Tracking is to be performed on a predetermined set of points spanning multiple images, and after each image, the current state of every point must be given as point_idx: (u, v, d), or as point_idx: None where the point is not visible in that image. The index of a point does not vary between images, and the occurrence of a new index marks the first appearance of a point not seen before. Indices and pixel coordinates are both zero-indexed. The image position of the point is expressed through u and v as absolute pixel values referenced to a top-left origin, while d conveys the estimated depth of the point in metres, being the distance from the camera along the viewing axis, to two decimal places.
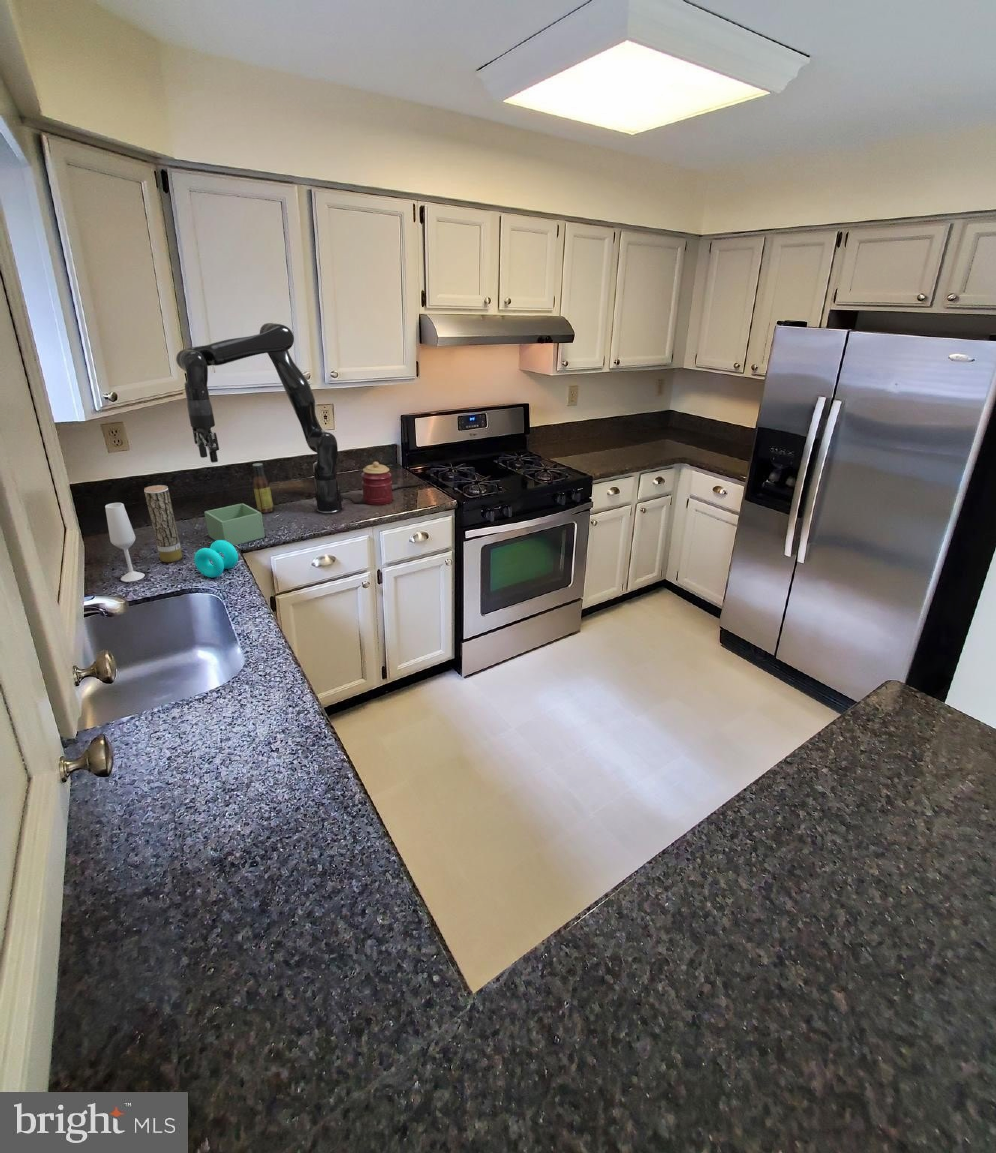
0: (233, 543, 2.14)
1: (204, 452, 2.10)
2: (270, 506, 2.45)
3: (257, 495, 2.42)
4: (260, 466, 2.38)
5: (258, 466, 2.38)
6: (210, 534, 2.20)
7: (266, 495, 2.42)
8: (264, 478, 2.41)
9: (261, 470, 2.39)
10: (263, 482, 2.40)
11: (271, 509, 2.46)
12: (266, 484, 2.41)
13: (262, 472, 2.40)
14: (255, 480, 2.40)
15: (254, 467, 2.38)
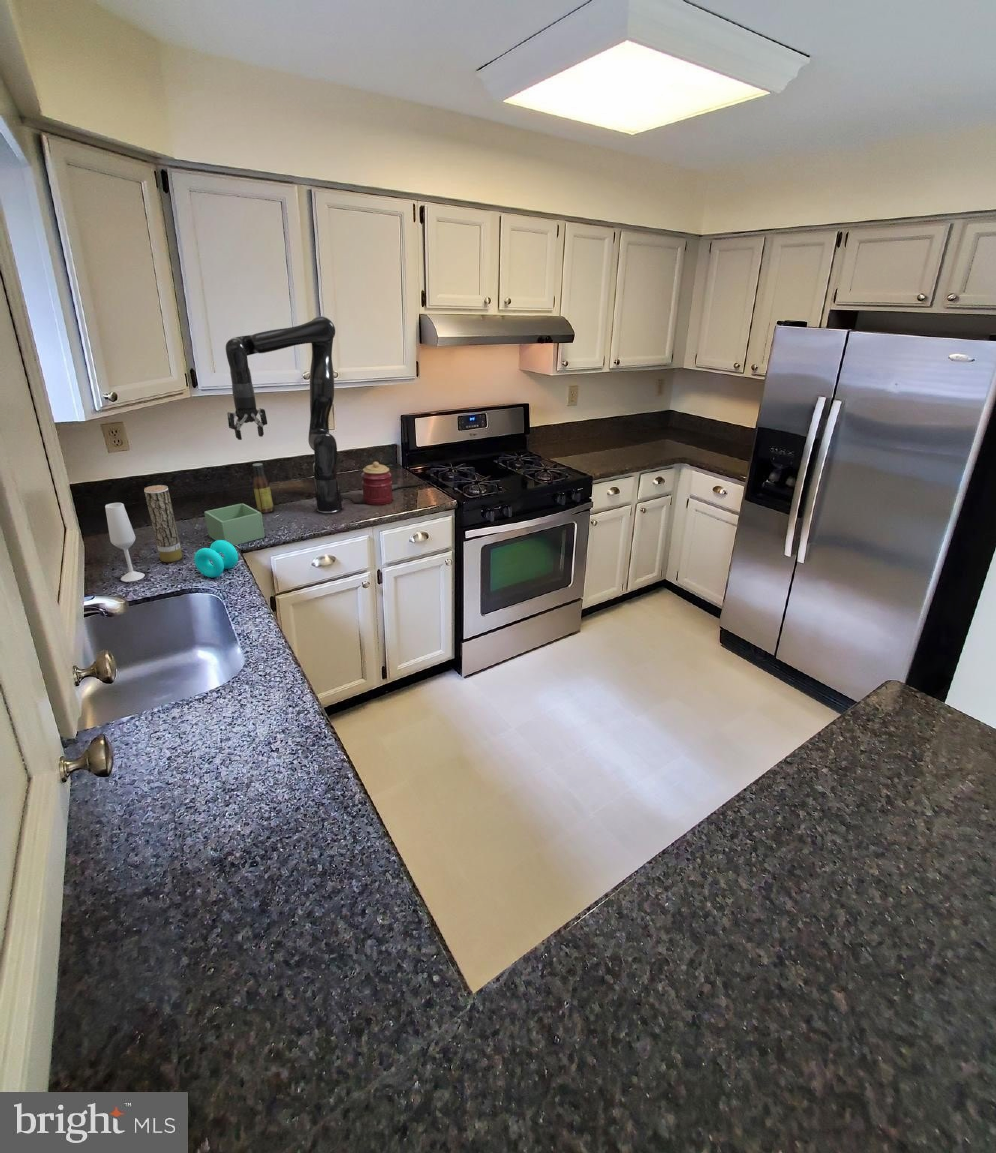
0: (233, 543, 2.14)
1: (259, 432, 2.33)
2: (270, 506, 2.45)
3: (257, 495, 2.42)
4: (260, 466, 2.38)
5: (258, 466, 2.38)
6: (210, 534, 2.20)
7: (266, 495, 2.42)
8: (264, 478, 2.41)
9: (261, 470, 2.39)
10: (263, 482, 2.40)
11: (271, 509, 2.46)
12: (266, 484, 2.41)
13: (262, 472, 2.40)
14: (255, 480, 2.40)
15: (254, 467, 2.38)
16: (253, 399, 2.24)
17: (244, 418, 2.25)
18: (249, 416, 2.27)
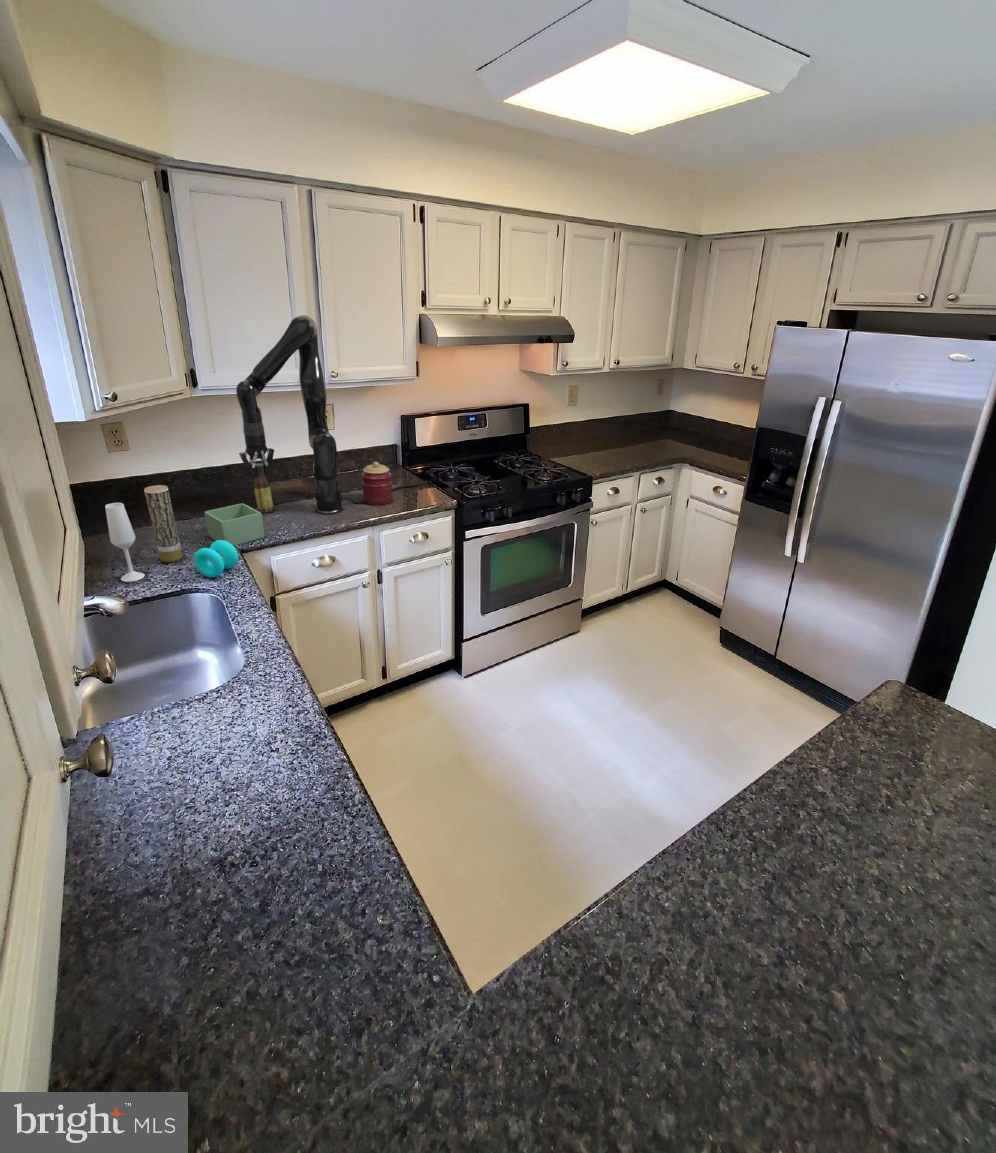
0: (233, 543, 2.14)
1: (264, 470, 2.41)
2: (270, 506, 2.45)
3: (257, 494, 2.42)
4: (261, 466, 2.38)
5: (259, 466, 2.38)
6: (210, 534, 2.20)
7: (266, 494, 2.42)
8: (264, 478, 2.41)
9: (261, 470, 2.39)
10: (264, 482, 2.40)
11: (271, 509, 2.46)
12: (266, 484, 2.41)
13: (263, 472, 2.40)
14: (255, 480, 2.40)
15: (255, 467, 2.38)
16: (263, 437, 2.34)
17: (254, 455, 2.35)
18: (259, 453, 2.37)
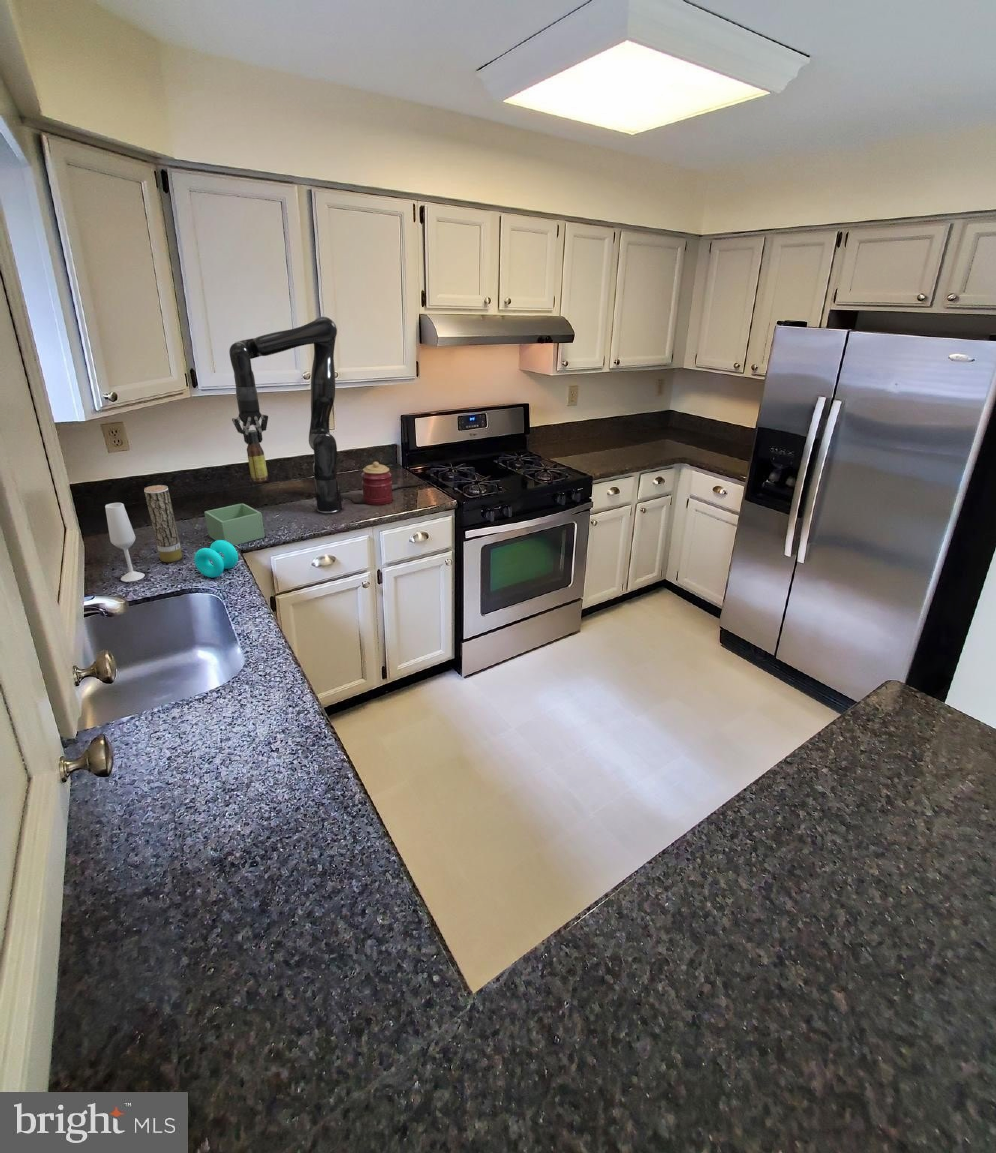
0: (233, 543, 2.14)
1: (258, 438, 2.34)
2: (264, 475, 2.38)
3: (250, 463, 2.34)
4: (254, 433, 2.31)
5: (252, 432, 2.30)
6: (210, 534, 2.20)
7: (260, 463, 2.35)
8: (258, 445, 2.33)
9: (255, 437, 2.32)
10: (258, 450, 2.33)
11: (265, 478, 2.39)
12: (260, 452, 2.34)
13: (256, 439, 2.33)
14: (249, 447, 2.32)
15: (248, 433, 2.30)
16: (256, 402, 2.26)
17: (247, 421, 2.27)
18: (252, 419, 2.29)
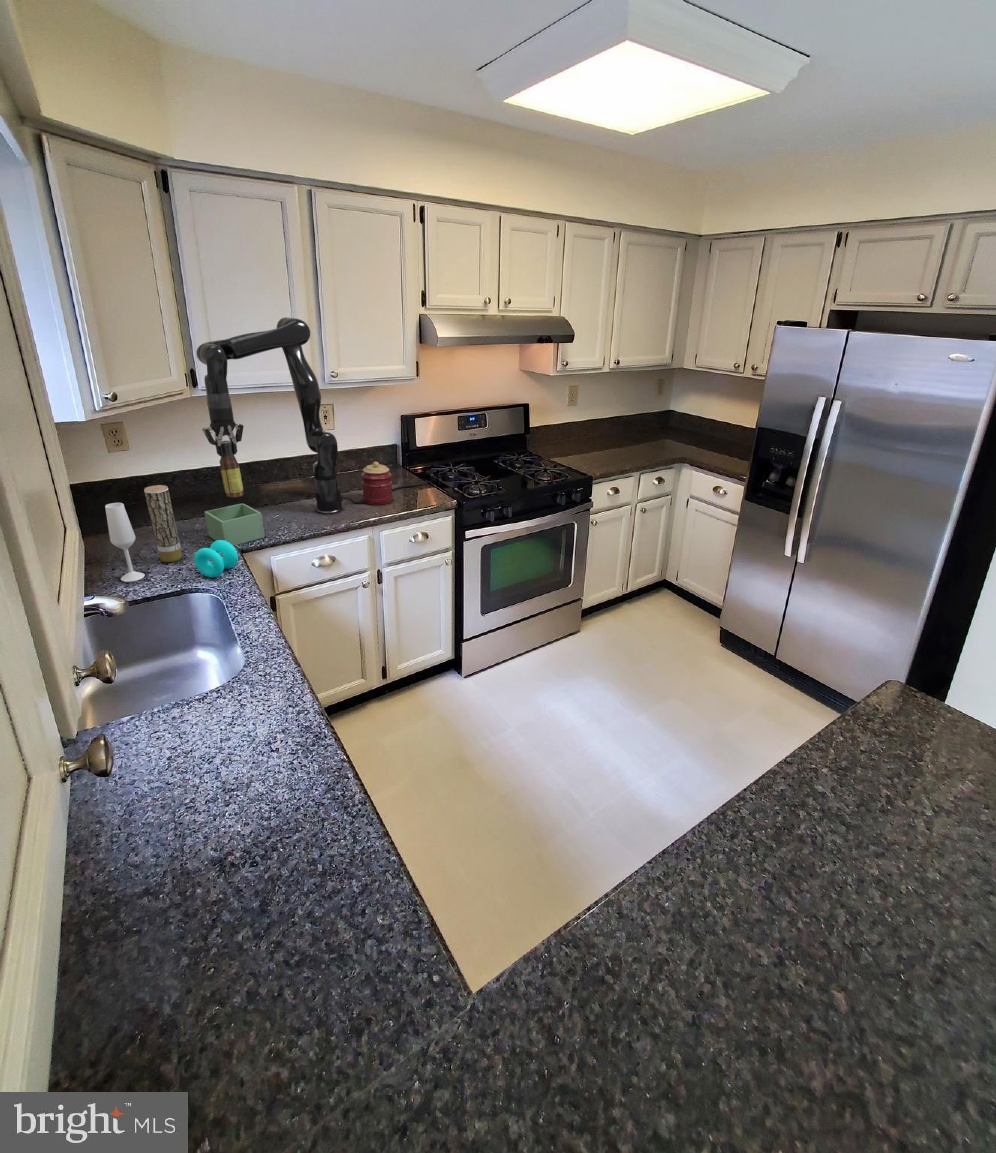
0: (233, 543, 2.14)
1: (232, 449, 2.13)
2: (239, 490, 2.17)
3: (224, 476, 2.13)
4: (228, 444, 2.10)
5: (225, 444, 2.09)
6: (210, 534, 2.20)
7: (235, 477, 2.14)
8: (232, 458, 2.12)
9: (229, 449, 2.10)
10: (232, 463, 2.11)
11: (241, 493, 2.18)
12: (235, 464, 2.13)
13: (230, 451, 2.11)
14: (222, 460, 2.11)
15: (221, 445, 2.09)
16: (230, 410, 2.05)
17: (220, 431, 2.06)
18: (226, 429, 2.08)
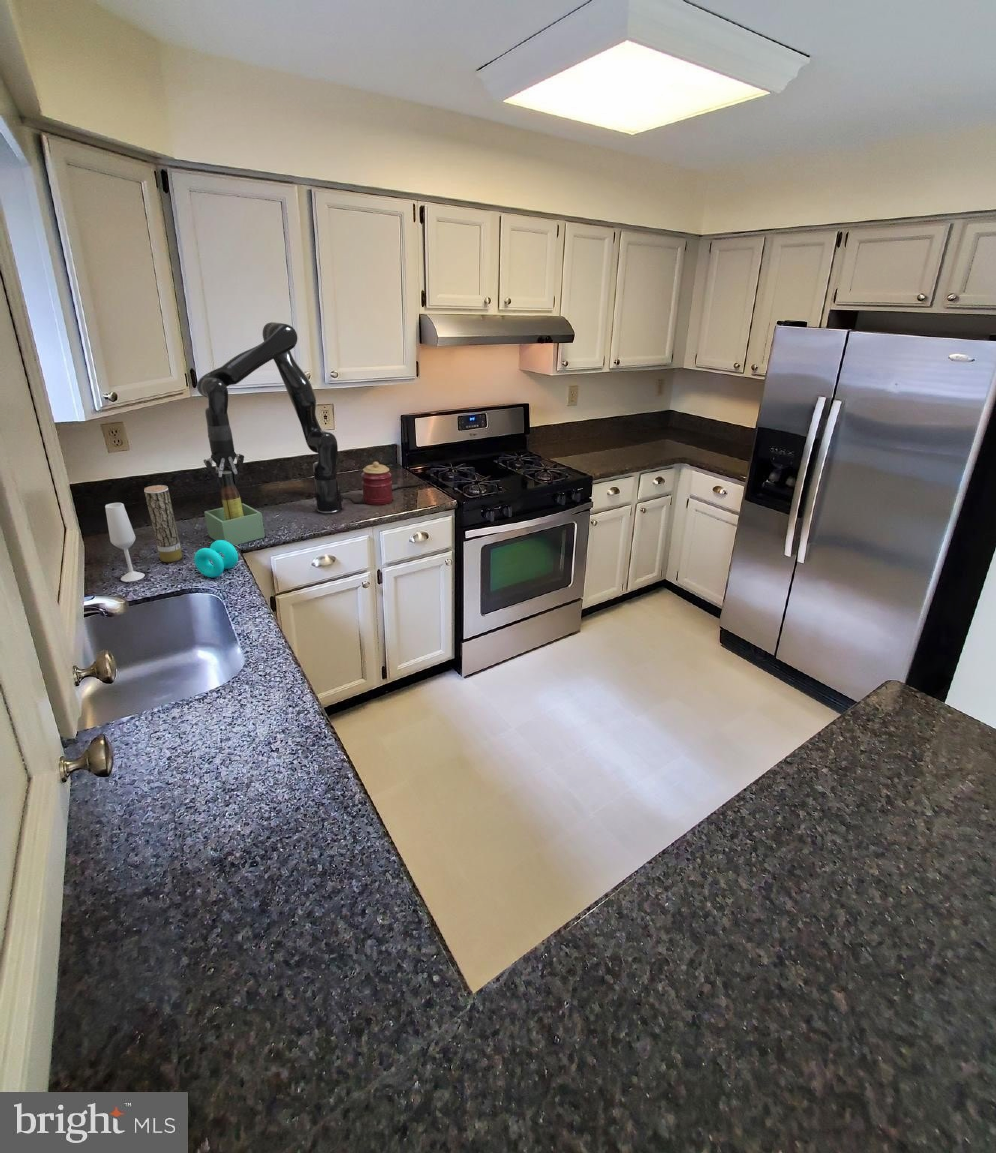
0: (233, 543, 2.14)
1: (233, 479, 2.14)
2: None
3: (225, 506, 2.14)
4: (229, 474, 2.11)
5: (226, 474, 2.10)
6: (210, 534, 2.20)
7: (236, 506, 2.15)
8: (233, 488, 2.13)
9: (230, 479, 2.12)
10: (233, 493, 2.13)
11: None
12: (236, 494, 2.14)
13: (231, 481, 2.13)
14: (223, 490, 2.12)
15: (222, 475, 2.10)
16: (230, 442, 2.06)
17: (221, 462, 2.07)
18: (226, 460, 2.09)
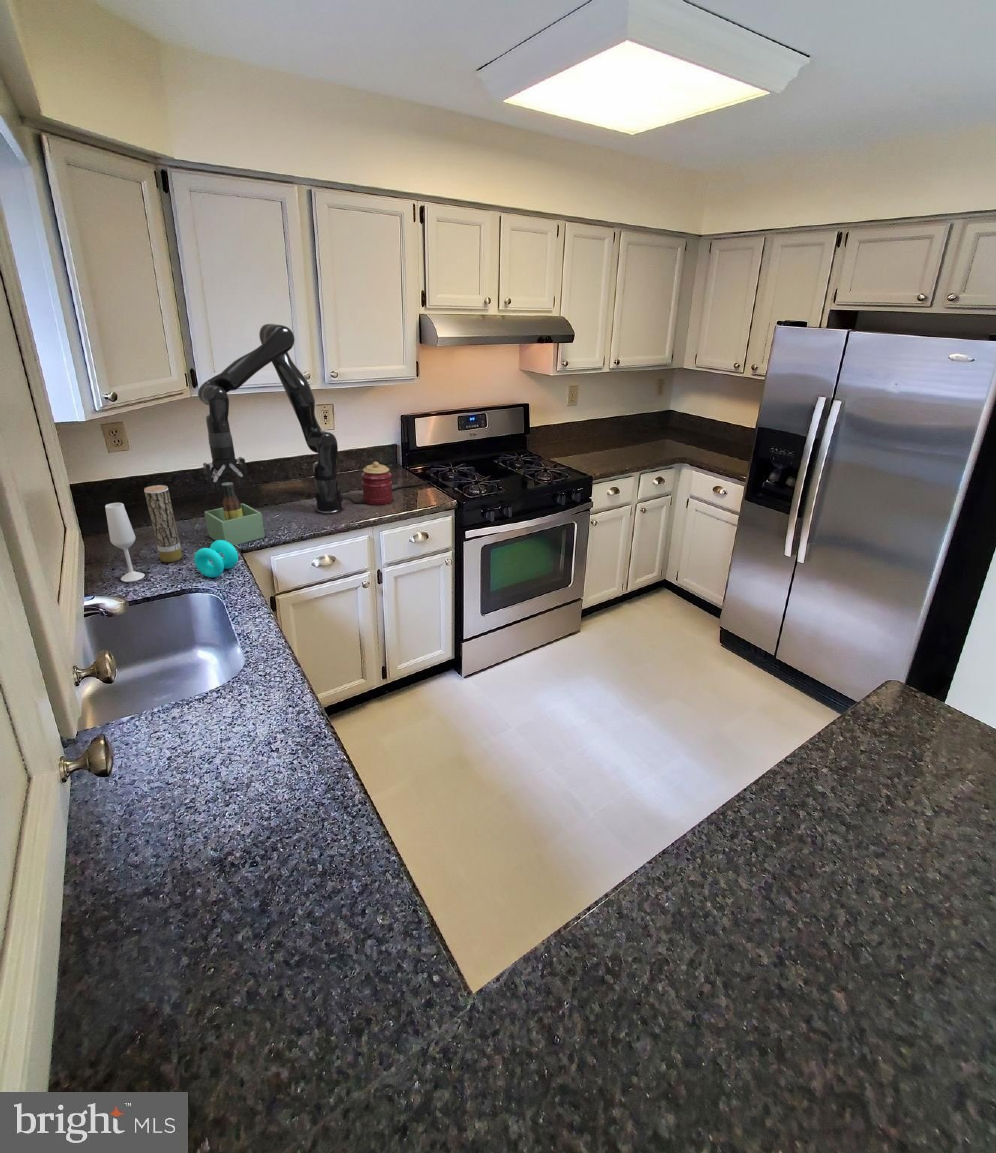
0: (233, 543, 2.14)
1: (239, 482, 2.16)
2: None
3: (227, 517, 2.16)
4: (230, 486, 2.13)
5: (228, 486, 2.12)
6: (210, 534, 2.20)
7: (237, 517, 2.17)
8: (235, 499, 2.15)
9: (231, 490, 2.14)
10: (234, 504, 2.15)
11: None
12: (237, 505, 2.16)
13: (232, 492, 2.14)
14: (224, 501, 2.14)
15: (223, 487, 2.12)
16: (231, 449, 2.07)
17: (221, 469, 2.08)
18: (227, 466, 2.10)
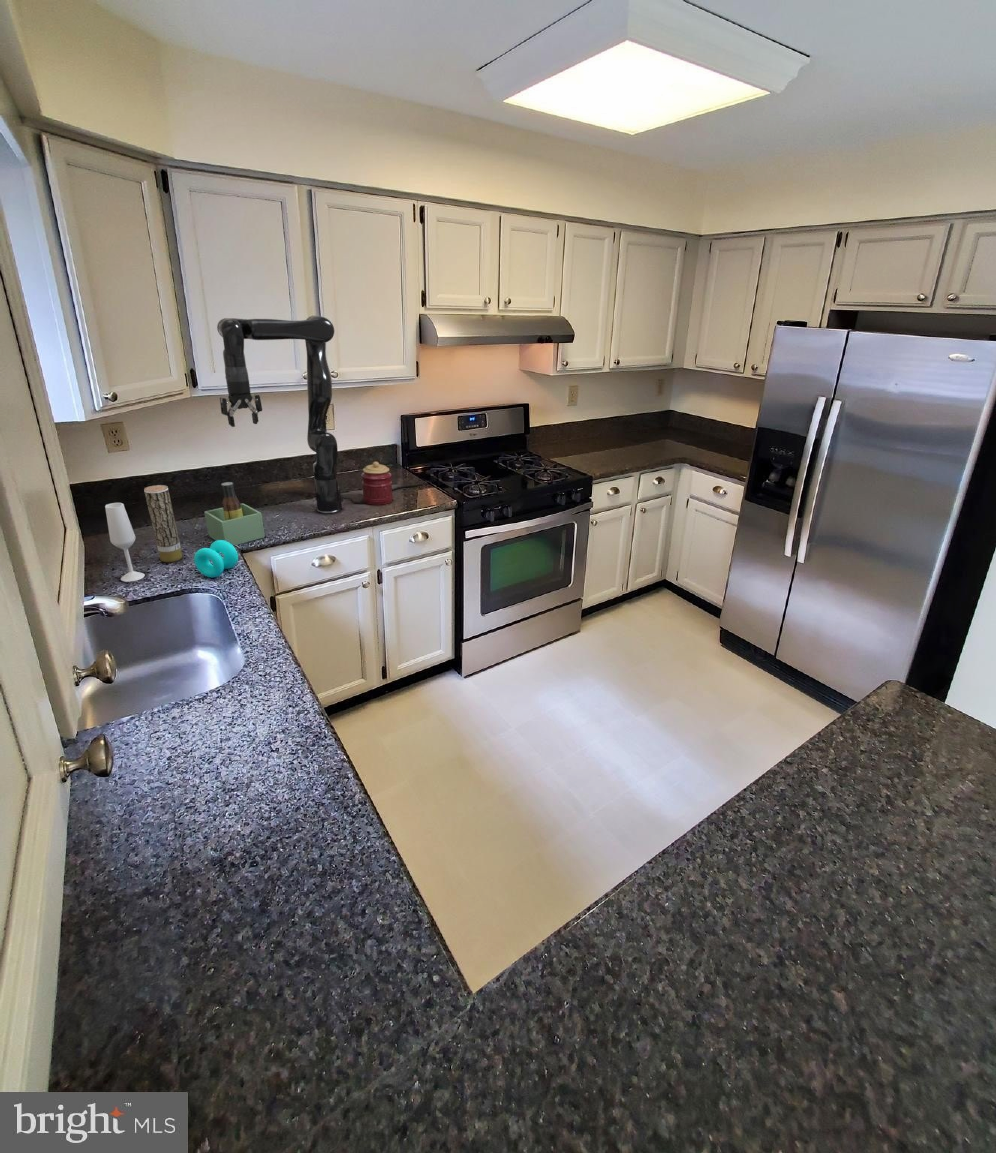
0: (233, 543, 2.14)
1: (254, 419, 2.21)
2: None
3: (227, 517, 2.16)
4: (230, 486, 2.13)
5: (228, 486, 2.12)
6: (210, 534, 2.20)
7: (237, 517, 2.17)
8: (235, 499, 2.15)
9: (231, 490, 2.14)
10: (234, 504, 2.15)
11: None
12: (237, 505, 2.16)
13: (232, 492, 2.14)
14: (224, 501, 2.14)
15: (223, 487, 2.12)
16: (247, 384, 2.13)
17: (237, 404, 2.14)
18: (243, 402, 2.16)
